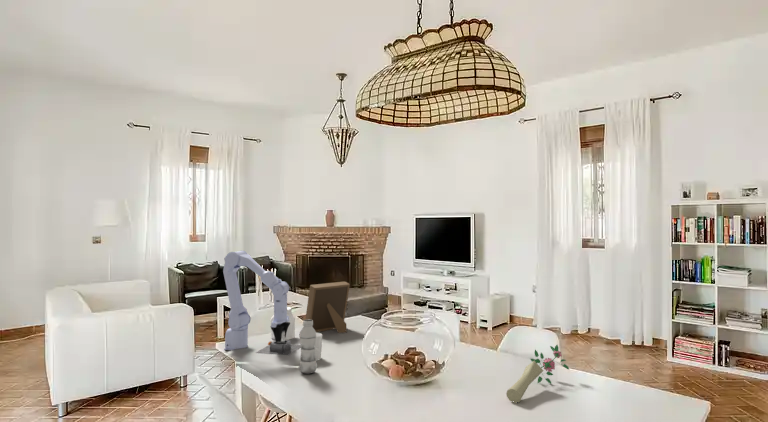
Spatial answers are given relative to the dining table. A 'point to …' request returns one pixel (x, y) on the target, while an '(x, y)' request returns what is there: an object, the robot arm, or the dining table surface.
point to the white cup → (318, 346)
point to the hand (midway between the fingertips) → (280, 340)
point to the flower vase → (533, 374)
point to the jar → (291, 328)
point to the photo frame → (328, 306)
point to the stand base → (280, 348)
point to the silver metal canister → (282, 338)
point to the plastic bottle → (307, 348)
